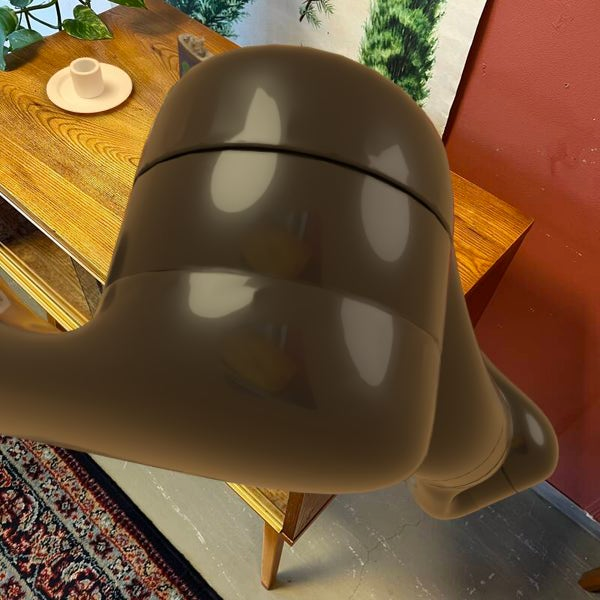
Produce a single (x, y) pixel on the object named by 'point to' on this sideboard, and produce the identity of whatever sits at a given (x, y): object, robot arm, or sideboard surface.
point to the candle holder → (89, 86)
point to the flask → (190, 52)
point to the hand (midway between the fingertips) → (323, 136)
